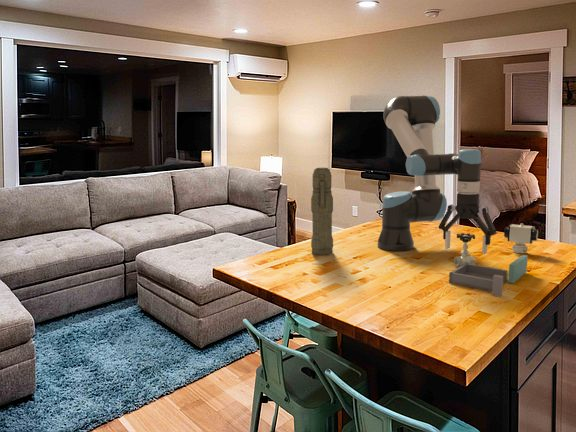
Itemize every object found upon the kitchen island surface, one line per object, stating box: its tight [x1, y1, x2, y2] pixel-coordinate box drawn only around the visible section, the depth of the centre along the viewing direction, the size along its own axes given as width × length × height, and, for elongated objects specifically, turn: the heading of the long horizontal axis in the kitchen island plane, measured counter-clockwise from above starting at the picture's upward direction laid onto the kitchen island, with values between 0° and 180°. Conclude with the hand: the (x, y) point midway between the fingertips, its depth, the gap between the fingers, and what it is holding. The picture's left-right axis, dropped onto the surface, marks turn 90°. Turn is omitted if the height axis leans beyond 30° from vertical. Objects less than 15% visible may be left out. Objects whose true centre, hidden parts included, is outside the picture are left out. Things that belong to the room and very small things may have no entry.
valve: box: [453, 232, 476, 268], centre depth 177 cm, size 7×7×12 cm
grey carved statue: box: [310, 167, 334, 257], centre depth 197 cm, size 9×12×35 cm
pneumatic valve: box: [503, 223, 539, 255], centre depth 196 cm, size 6×12×12 cm, turn 55°
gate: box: [507, 254, 529, 284], centre depth 164 cm, size 2×15×6 cm, turn 140°
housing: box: [448, 263, 508, 297], centre depth 159 cm, size 17×17×6 cm
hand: (465, 250), depth 177 cm, fingers open, 13 cm apart
